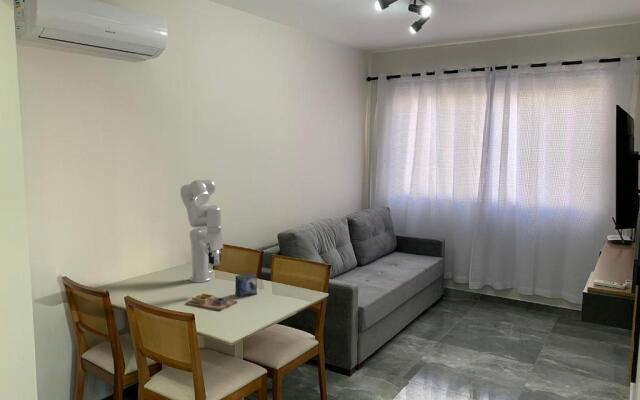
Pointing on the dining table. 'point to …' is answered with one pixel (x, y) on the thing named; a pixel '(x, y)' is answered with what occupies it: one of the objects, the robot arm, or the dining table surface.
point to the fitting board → (210, 302)
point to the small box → (246, 285)
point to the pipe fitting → (215, 258)
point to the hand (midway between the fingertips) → (214, 262)
